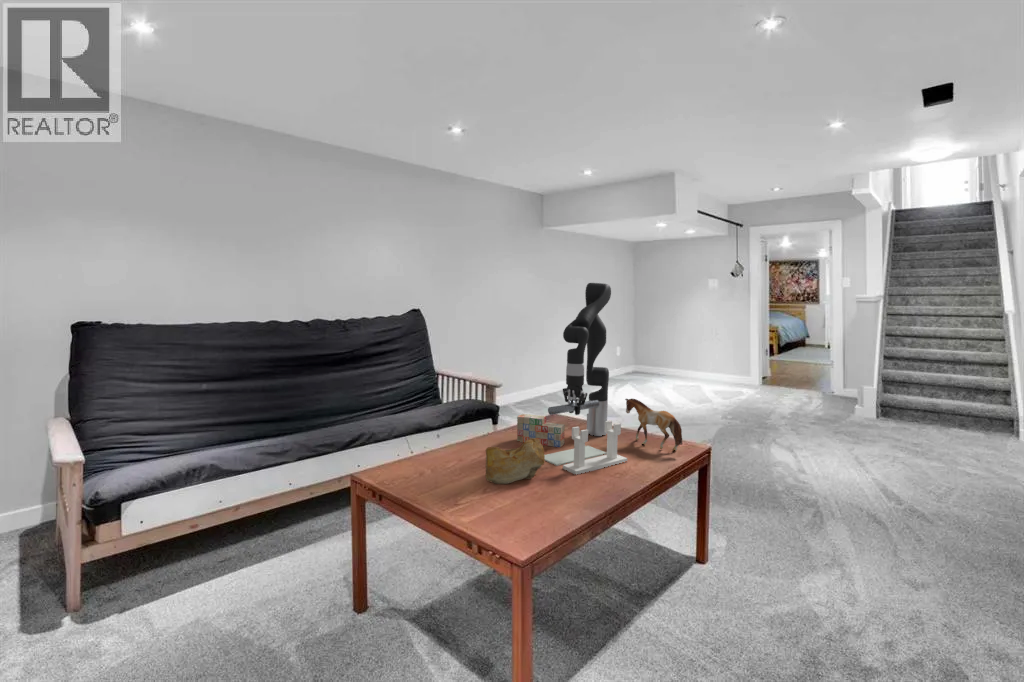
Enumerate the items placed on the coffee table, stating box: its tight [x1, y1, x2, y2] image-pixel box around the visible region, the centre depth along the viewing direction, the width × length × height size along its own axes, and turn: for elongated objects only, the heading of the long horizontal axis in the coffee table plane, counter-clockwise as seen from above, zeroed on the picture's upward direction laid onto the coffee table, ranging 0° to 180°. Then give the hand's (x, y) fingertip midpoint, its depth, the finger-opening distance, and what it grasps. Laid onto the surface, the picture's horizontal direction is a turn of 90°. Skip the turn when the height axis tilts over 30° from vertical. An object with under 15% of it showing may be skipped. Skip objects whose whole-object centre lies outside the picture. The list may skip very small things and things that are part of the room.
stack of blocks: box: [516, 413, 566, 448], centre depth 239 cm, size 21×6×12 cm, turn 67°
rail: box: [547, 400, 599, 416], centre depth 219 cm, size 26×3×3 cm, turn 124°
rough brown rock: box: [485, 438, 545, 485], centre depth 196 cm, size 23×17×15 cm
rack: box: [562, 420, 628, 476], centre depth 209 cm, size 8×28×16 cm, turn 124°
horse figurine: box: [624, 398, 683, 451], centre depth 234 cm, size 31×8×21 cm, turn 39°
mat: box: [544, 445, 607, 467], centre depth 222 cm, size 12×28×1 cm, turn 124°
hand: (574, 413), depth 220 cm, fingers closed on rail, 3 cm apart
